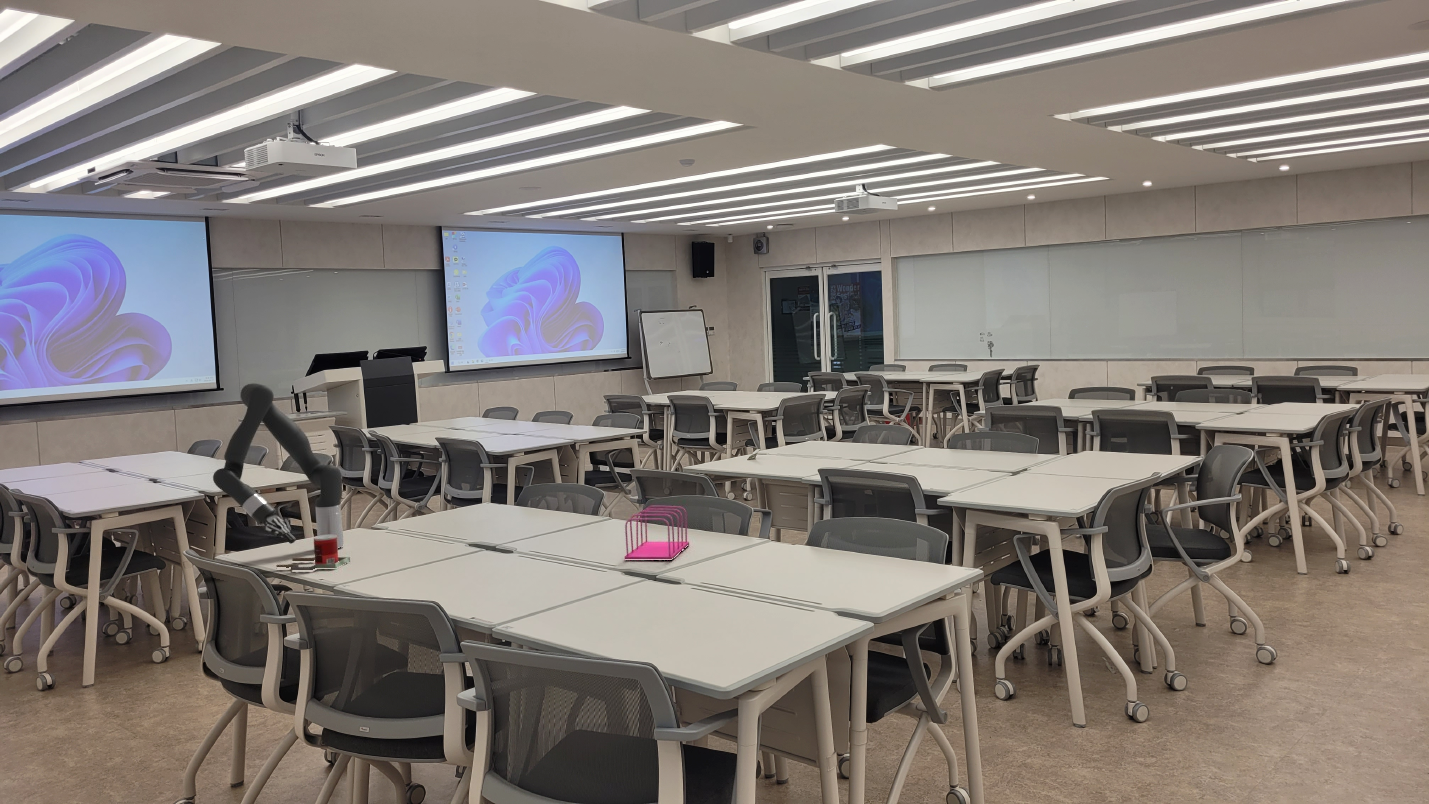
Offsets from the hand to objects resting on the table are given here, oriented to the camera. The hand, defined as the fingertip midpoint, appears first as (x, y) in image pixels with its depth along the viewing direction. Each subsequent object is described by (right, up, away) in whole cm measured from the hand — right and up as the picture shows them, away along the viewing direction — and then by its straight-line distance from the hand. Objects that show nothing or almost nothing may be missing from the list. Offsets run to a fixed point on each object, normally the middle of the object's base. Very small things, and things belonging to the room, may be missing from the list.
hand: (293, 541), depth 352 cm
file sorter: (+132, -4, 0) cm, 132 cm away
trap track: (+7, -9, 0) cm, 12 cm away
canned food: (+13, -9, -1) cm, 15 cm away
